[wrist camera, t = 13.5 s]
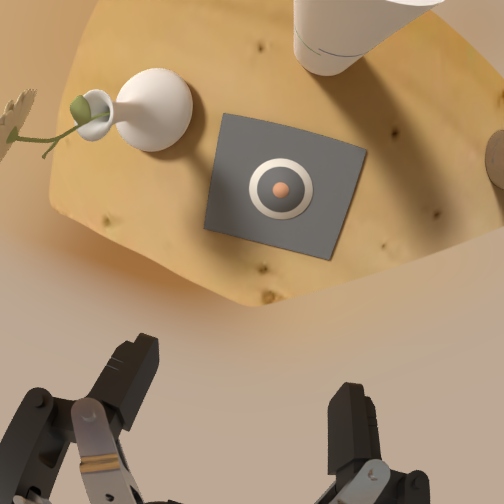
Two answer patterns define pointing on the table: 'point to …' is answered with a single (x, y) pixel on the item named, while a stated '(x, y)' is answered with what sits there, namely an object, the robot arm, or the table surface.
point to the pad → (281, 185)
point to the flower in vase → (117, 113)
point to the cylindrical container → (347, 29)
